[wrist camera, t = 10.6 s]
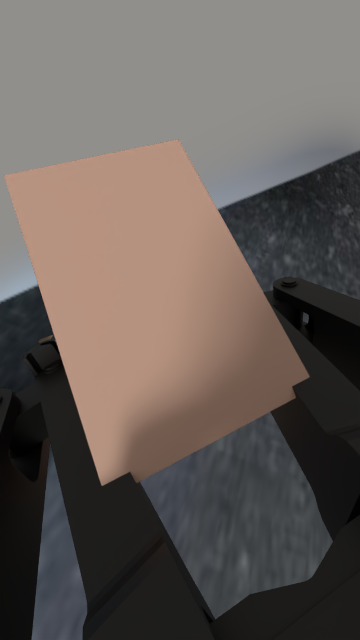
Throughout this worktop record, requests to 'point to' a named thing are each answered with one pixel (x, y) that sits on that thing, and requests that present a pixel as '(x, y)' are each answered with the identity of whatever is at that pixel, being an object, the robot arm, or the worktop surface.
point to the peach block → (150, 307)
